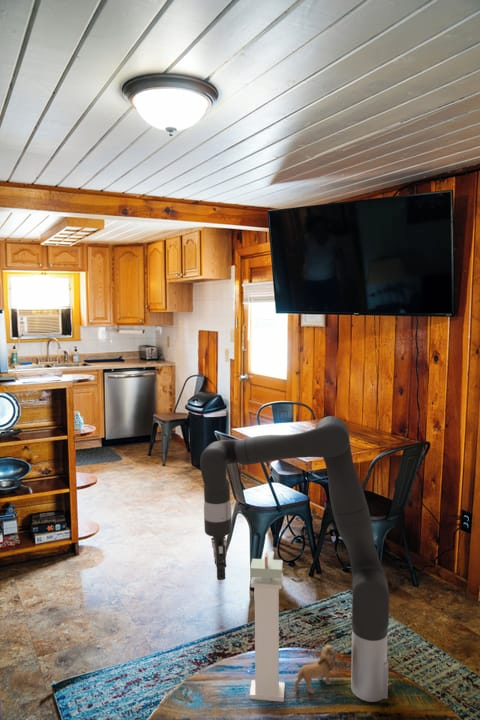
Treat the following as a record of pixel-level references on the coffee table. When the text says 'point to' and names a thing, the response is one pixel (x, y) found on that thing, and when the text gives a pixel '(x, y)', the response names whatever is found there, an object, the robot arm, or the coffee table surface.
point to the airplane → (266, 568)
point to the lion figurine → (317, 669)
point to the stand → (267, 641)
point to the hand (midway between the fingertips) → (219, 571)
